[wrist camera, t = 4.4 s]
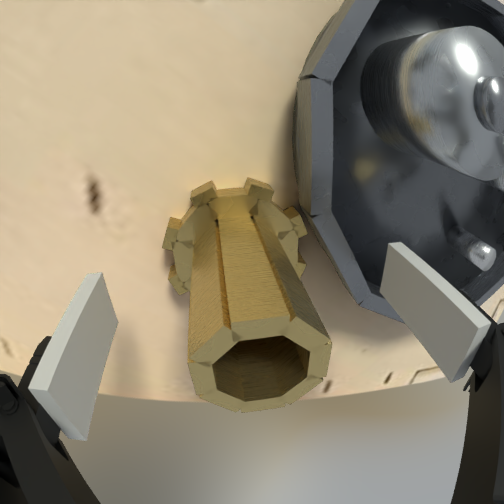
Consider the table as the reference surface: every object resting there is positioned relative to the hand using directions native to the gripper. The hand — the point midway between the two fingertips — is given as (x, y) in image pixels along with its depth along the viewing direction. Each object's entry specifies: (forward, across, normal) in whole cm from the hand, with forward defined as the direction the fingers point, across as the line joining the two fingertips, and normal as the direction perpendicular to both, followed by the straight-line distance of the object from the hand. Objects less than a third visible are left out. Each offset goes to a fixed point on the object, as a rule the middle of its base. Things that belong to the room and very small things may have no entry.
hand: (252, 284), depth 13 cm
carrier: (+5, +15, +6) cm, 17 cm away
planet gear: (+5, 0, 0) cm, 5 cm away
